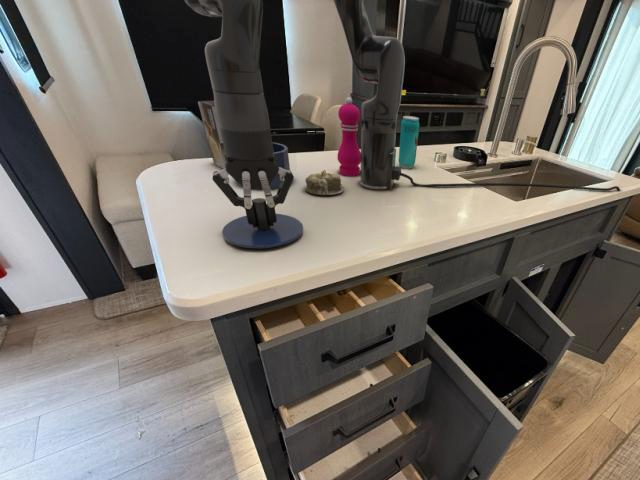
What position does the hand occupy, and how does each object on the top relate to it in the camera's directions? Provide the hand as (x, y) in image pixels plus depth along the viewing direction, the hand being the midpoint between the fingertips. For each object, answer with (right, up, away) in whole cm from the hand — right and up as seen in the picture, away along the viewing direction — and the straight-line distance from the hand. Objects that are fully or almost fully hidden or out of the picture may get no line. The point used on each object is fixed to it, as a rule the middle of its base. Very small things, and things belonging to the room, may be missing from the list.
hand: (263, 224), depth 62 cm
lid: (0, -1, +1) cm, 1 cm away
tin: (-10, +18, +25) cm, 32 cm away
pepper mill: (+11, +25, +38) cm, 46 cm away
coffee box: (-24, +25, +33) cm, 48 cm away
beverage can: (+29, +31, +49) cm, 64 cm away
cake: (+6, +14, +23) cm, 28 cm away
